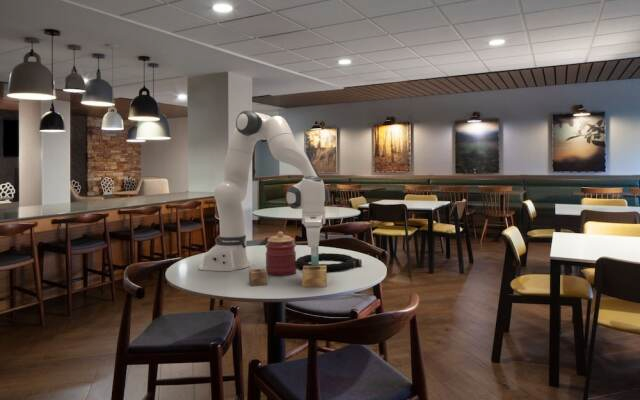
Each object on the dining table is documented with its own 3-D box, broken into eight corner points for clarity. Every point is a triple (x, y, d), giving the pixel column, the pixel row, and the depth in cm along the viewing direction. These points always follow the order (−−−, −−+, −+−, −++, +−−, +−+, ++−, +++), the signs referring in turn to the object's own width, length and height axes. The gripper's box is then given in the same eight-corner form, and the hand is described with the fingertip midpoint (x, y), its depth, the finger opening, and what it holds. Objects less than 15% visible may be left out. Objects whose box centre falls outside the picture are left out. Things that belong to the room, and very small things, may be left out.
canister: (292, 276, 189) (291, 233, 187) (262, 275, 191) (260, 233, 189) (299, 269, 201) (298, 229, 200) (270, 268, 204) (269, 229, 202)
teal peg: (311, 266, 175) (310, 237, 174) (311, 264, 178) (310, 236, 177) (318, 266, 175) (318, 237, 174) (318, 264, 178) (318, 235, 177)
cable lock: (303, 251, 224) (364, 253, 218) (303, 259, 224) (364, 261, 218) (287, 264, 197) (357, 265, 191) (288, 272, 197) (357, 274, 191)
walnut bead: (251, 286, 175) (251, 273, 174) (249, 282, 180) (248, 269, 180) (267, 284, 176) (267, 271, 176) (264, 280, 182) (263, 268, 182)
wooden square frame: (302, 286, 172) (302, 271, 172) (303, 280, 181) (303, 265, 181) (326, 286, 172) (326, 270, 172) (326, 280, 181) (326, 265, 181)
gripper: (306, 216, 185) (307, 250, 186) (304, 222, 165) (304, 260, 166) (322, 215, 185) (323, 249, 186) (321, 222, 165) (322, 260, 166)
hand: (314, 254), depth 176 cm, fingers closed on teal peg, 3 cm apart
